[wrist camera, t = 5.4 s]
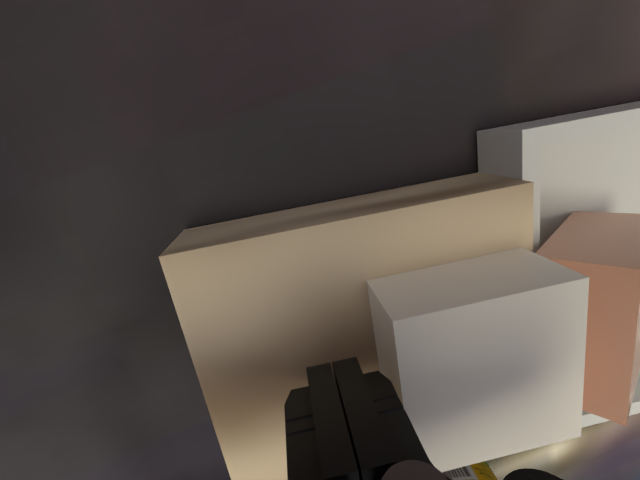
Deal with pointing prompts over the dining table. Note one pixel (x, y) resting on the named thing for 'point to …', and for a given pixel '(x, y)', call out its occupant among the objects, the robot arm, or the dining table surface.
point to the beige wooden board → (316, 292)
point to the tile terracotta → (605, 303)
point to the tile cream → (485, 353)
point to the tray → (571, 171)
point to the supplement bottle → (471, 472)
